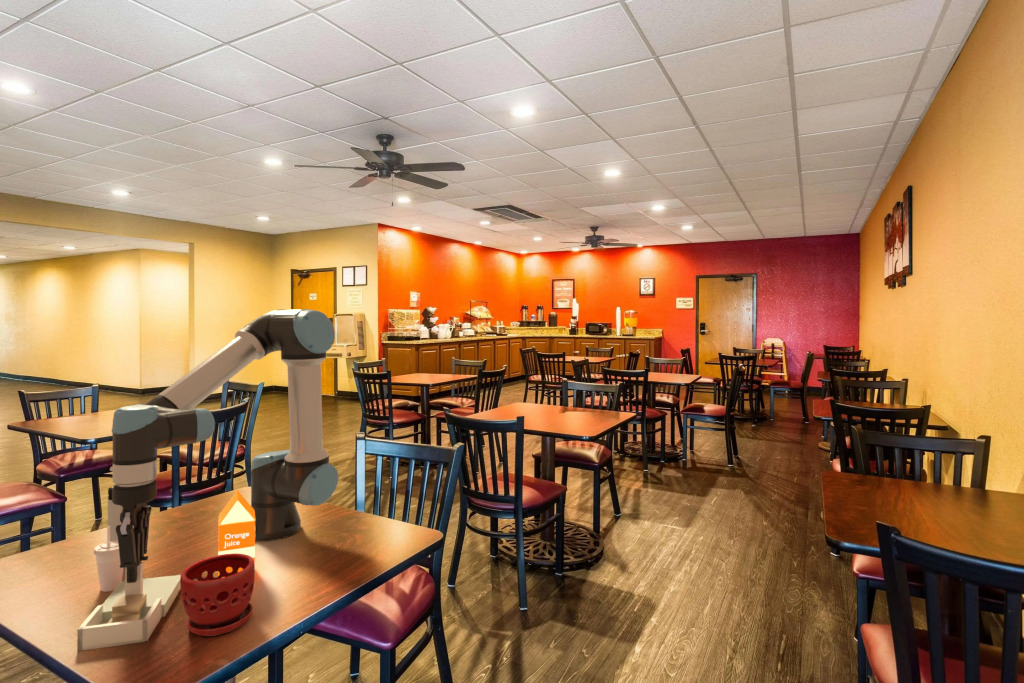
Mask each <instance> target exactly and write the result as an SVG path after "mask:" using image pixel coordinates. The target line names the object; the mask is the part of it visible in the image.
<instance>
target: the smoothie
mask: <svg viewBox="0 0 1024 683" xmlns="http://www.w3.org/2000/svg"><path fill="white" fill-rule="evenodd" d="M92 553H93V555H95V561H96V567H97V568H96V569H97V574H98V581H99V587H100V588H99V589H100V591H101V592H104V593H105V592H106V593H107V592H113V591H114V590H115V588H116V587H117V586H118V585H119V584H120V582H121V581H123V574H124V570H125V568H120V554H119V544H118V540H116V541H110V526H108V525H107V527H106V541H105V542H102V543H100V544H97V545H95V546H94V547H93V552H92Z"/></svg>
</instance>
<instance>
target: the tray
mask: <svg viewBox="0 0 1024 683" xmlns="http://www.w3.org/2000/svg"><path fill="white" fill-rule="evenodd" d="M162 618H163V617H162V598H157V599H156V601H155V603H154V604H153V606H152V607H151V609H150V610H149V612H148V613H147V615H146V616H145V617H140V620H133V621H125V622H117V623H109V624H107V623H108V622H109V621H107V622H103V605H102V604H98V605H97V606H96V607H95V608H94V609H93V610H92V612H91V613H90V614H89V615H88V616H87V618H86V619H85V620H84V621H83V623H82V624H81V625H80V626H79V627H78V628H77V631H76V632H77V634H76V635H77V641H76V642H77V643H76V644H77V646H76V648H77V652H80V651H81V652H82V651H89V650H97V649H102V648H103V649H105V648H109V647H110V648H111V647H117V646H123V645H124V646H125V645H132V644H138V643H146V642H145V641H147V642H148V641H149V639H150V637H151V636H152V634H153V632H154V631H155V629H156V628H157V625H158V624H159V623H160V621H161V619H162Z"/></svg>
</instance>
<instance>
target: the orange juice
mask: <svg viewBox="0 0 1024 683" xmlns="http://www.w3.org/2000/svg"><path fill="white" fill-rule="evenodd" d="M255 521H256V519H255V511H254V509H253V508H252V507H251V503H249V502H248V500H247V499H246V498H245V497H244V496H243V495H242V494H241V492H240V491H239V490H238V489H236V491H235V493H234V494H233V495H232V497H231V498H230V499H229V501H228V502H227V503H226V505H225V506H224V508H223V509H222V510H221V511H220V513H219V514H218V547H217V548H218V550H217V552H218V554H217V556H218V555H223V554H233V553H238V554H246V555H249V556H251V557H252V558H253V560H254V566H255V563H256V562H255V561H256V560H255V559H256V558H255V557H256V540H255V531H256V529H255V528H256V527H255ZM255 567H256V566H255ZM242 570H243V569H242V568H239V569H238V572H240V571H242ZM226 571H227V572H232V567H227V568H226ZM217 573H218V574H217V577H218V576H219V574H220V573H219V571H217ZM222 578H224V577H222Z"/></svg>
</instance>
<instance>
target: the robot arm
mask: <svg viewBox="0 0 1024 683" xmlns="http://www.w3.org/2000/svg"><path fill="white" fill-rule="evenodd" d="M335 332H336V331H335V328H334V324H333V322H332V321H331V319H330V318H329V317H328V315H327V314H325V313H323V311H320V310H314V309H308V308H305V309H304V308H303V309H274V310H271V311H268V312H266V313H264V314H262V315H260V316H258V317H257V318H255V319H253V320H252V321H250V322H249V323H248V324H246V325H244V326H243V327H242V328H240V329H239V330H237V331H236V332H235V334H234V338H233V339H232V340H230V341H229V342H228V343H226V344H225V345H223V347H221V348H220V349H218V350H217V351H215V353H213V354H212V355H211V356H209V357H208V358H206V359H205V360H204V361H202V362H201V363H199V364H198V365H197V366H195V367H193V369H191V370H190V371H188V372H187V373H186V374H184V375H183V376H182V377H180V378H179V379H178V380H176V381H175V382H174V383H172V384H171V385H169V386H168V387H167V388H165V389H164V390H163V391H161V392H160V393H159V394H157V395H156V396H154V397H153V398H152V399H150V400H148V402H146V403H138V404H133V405H126V406H122V407H121V406H120V407H119V408H117V409H115V410H114V413H113V418H112V427H111V433H112V466H110V468H109V471H110V472H112V483H113V485H112V487H111V488H112V502H113V503H114V504H115V505H120V506H122V507H123V509H122V513H121V514H120V521H121V525H117V526H116V533H117V536H118V544H119V554H120V568H124V581H125V596H126V595H135V594H142V593H143V579H144V562H143V561H148V560H149V556H148V555H147V553H148V543H149V542H148V541H149V533H150V532H149V530H150V520H151V519H150V518H151V512H152V509H153V508H152V505H148V502H151V501H153V500H155V499H156V498H157V494H158V493H157V492H158V491H157V490H158V488H157V487H158V486H157V484H158V483H157V480H156V479H157V478H158V449H159V450H161V449H165V448H172V447H176V446H177V447H178V446H182V445H188V444H189V445H190V444H197V443H201V442H203V441H206V440H209V439H210V438H211V437H212V436H213V434H214V432H215V427H216V426H215V423H216V422H215V417H214V415H213V413H212V412H211V411H210V409H209V410H208V408H204V407H202V408H196V406H198V405H199V404H200V403H202V402H203V401H204V400H206V399H207V398H208V397H210V396H211V395H212V394H213V393H214V392H216V390H218V389H219V388H220V387H222V386H224V384H225V383H227V382H228V381H229V380H231V379H232V378H233V377H235V376H236V375H237V374H238V373H239V372H241V371H242V370H244V369H245V368H246V367H247V366H248V365H250V364H251V363H252V362H254V361H255V360H257V361H259V360H261V359H263V358H264V357H266V356H267V355H269V354H271V353H275V352H280V358H281V361H282V362H283V363H284V364H285V365H286V366H287V386H288V388H287V391H288V419H289V421H288V424H289V449H287V450H286V449H283V450H275V451H274V450H273V451H270V452H269V451H268V452H264V453H261V454H257V455H255V456H254V457H253V458H252V460H251V468H250V488H251V489H250V500H251V501H250V506H251V507H252V508H253V509H254V511H255V519H256V521H255V527H256V528H255V529H256V531H255V541H260V542H262V541H265V542H267V541H274V540H280V539H285V538H287V537H292V536H293V535H295V534H297V533H298V532H299V531H300V530H301V524H302V523H301V522H302V520H301V517H300V515H299V511H298V508H297V506H296V504H295V503H297V504H301V505H303V506H313V507H315V506H316V507H317V506H321V505H322V504H325V503H326V502H327V501H328V500H330V498H331V497H332V496H333V494H334V493H335V492H336V489H337V486H338V483H339V471H338V468H336V467H335V466H334V465H333V464H331V463H330V454H329V451H327V450H326V449H324V440H323V439H324V438H323V437H324V436H323V435H324V434H323V402H322V401H323V399H322V369H321V368H322V367H321V365H322V364H323V362H324V361H325V360H326V359H327V352H329V350H330V349H331V348H332V345H333V344H334V343H335V339H336V333H335ZM145 555H146V556H145Z"/></svg>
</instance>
